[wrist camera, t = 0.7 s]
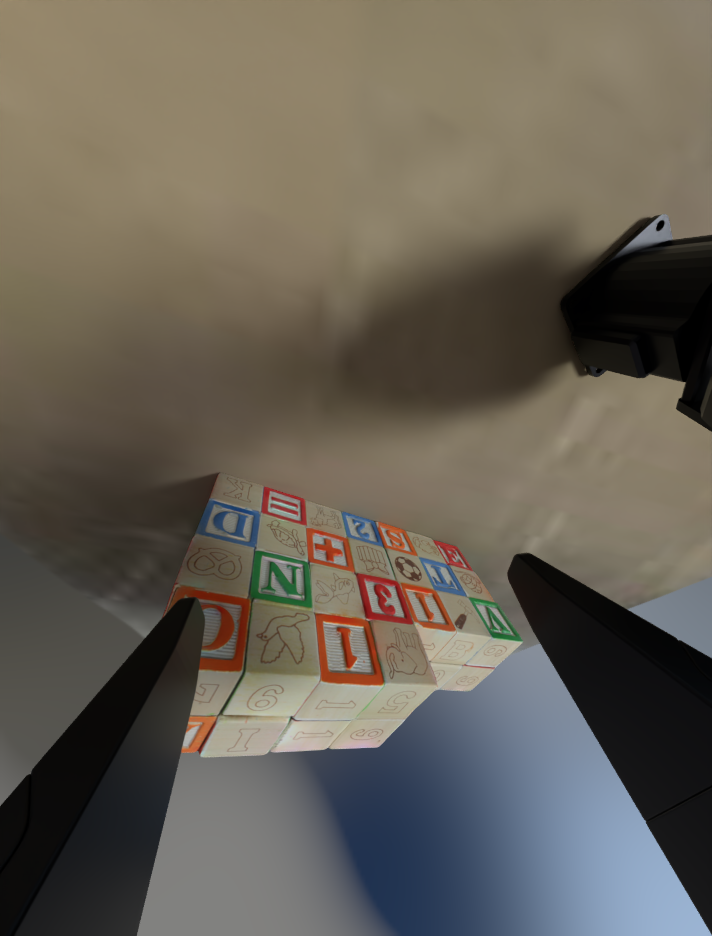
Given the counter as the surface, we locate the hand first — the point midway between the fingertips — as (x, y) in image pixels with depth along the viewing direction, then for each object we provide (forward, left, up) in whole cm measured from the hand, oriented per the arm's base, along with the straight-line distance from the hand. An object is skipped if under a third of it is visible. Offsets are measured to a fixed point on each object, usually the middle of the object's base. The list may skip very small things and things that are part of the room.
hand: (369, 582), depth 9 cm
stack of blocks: (+7, +8, -13) cm, 17 cm away
